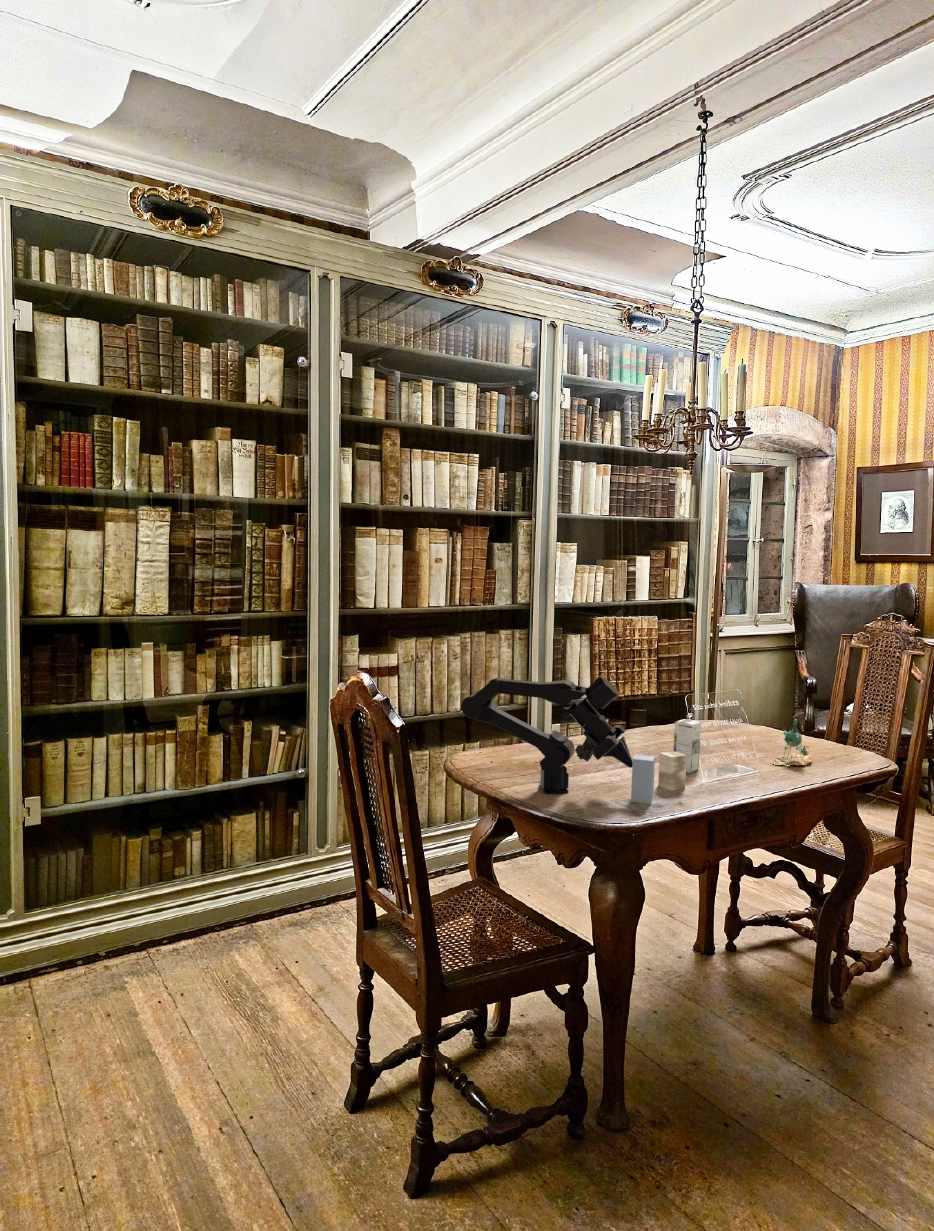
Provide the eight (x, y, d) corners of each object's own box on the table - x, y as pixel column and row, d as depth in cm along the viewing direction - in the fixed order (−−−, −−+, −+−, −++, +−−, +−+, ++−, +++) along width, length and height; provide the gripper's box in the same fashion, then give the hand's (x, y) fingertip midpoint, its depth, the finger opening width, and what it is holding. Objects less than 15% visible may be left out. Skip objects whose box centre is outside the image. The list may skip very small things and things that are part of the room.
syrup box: (680, 766, 241) (682, 718, 240) (699, 770, 237) (701, 721, 236) (672, 770, 237) (674, 721, 236) (691, 773, 233) (693, 723, 232)
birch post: (670, 790, 216) (671, 757, 215) (658, 785, 220) (659, 752, 219) (685, 788, 218) (686, 755, 217) (672, 783, 222) (674, 751, 222)
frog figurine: (828, 764, 248) (827, 717, 246) (786, 776, 240) (784, 728, 238) (803, 756, 257) (802, 711, 255) (761, 768, 249) (759, 721, 247)
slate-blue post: (630, 801, 205) (632, 758, 204) (633, 796, 209) (635, 754, 209) (651, 804, 203) (652, 760, 202) (653, 798, 208) (654, 756, 207)
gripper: (575, 733, 220) (614, 777, 217) (560, 748, 203) (603, 796, 200) (604, 706, 217) (645, 751, 214) (592, 719, 200) (636, 767, 197)
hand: (632, 766), depth 206 cm, fingers closed, pressing on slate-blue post
